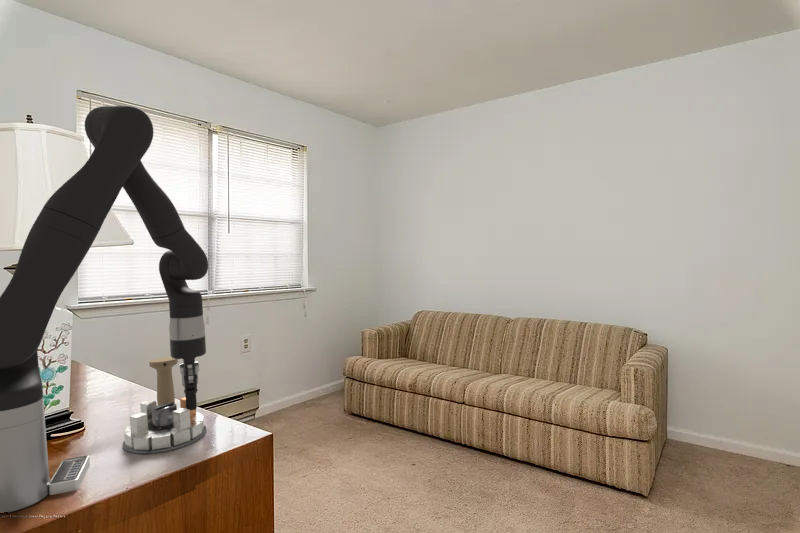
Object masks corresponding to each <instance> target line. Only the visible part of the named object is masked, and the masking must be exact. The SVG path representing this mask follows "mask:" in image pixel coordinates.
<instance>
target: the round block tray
mask: <svg viewBox="0 0 800 533" xmlns="http://www.w3.org/2000/svg"><path fill="white" fill-rule="evenodd" d="M139 404H140V412H138V413H135V414H131V415H129V424H128V426H127V427H125V430H124V432H123V435H124V440H125V445H127V446H128V447H130V448H131V449H132V448H134V449H138V450H150V449H151V448H152V450H154V449H161V448H167V447H171V444H172V445H174V446H176V445H178V444H181V443H184V442H187V441H190V439H194V438H195V437H197V436H198V435H199V434H201V433H202V431H203V429H204V425H205V424H204V423H205V422H204V415H203V414H202V413H200V412H198V411H197V408H196V409H195V410H190V409H186V396H185V397H181V398H179V406H180V407H179V408H177V410H175V411H173V423H174V428H171V429H167V430H161V431H153V419H152V408H153V407H155V406H157V405H158V404H157V400H151V399H148V400H146V401H143V402H140V403H139Z"/></svg>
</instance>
